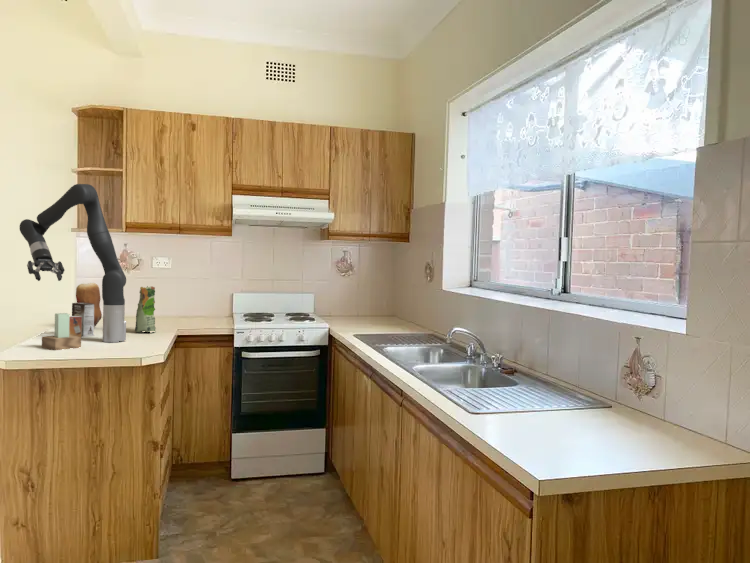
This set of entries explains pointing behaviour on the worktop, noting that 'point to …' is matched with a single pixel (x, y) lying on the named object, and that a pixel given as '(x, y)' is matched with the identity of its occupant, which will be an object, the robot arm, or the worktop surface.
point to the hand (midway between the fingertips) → (49, 279)
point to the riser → (61, 342)
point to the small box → (75, 326)
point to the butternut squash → (90, 298)
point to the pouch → (146, 310)
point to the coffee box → (85, 316)
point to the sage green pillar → (62, 325)
